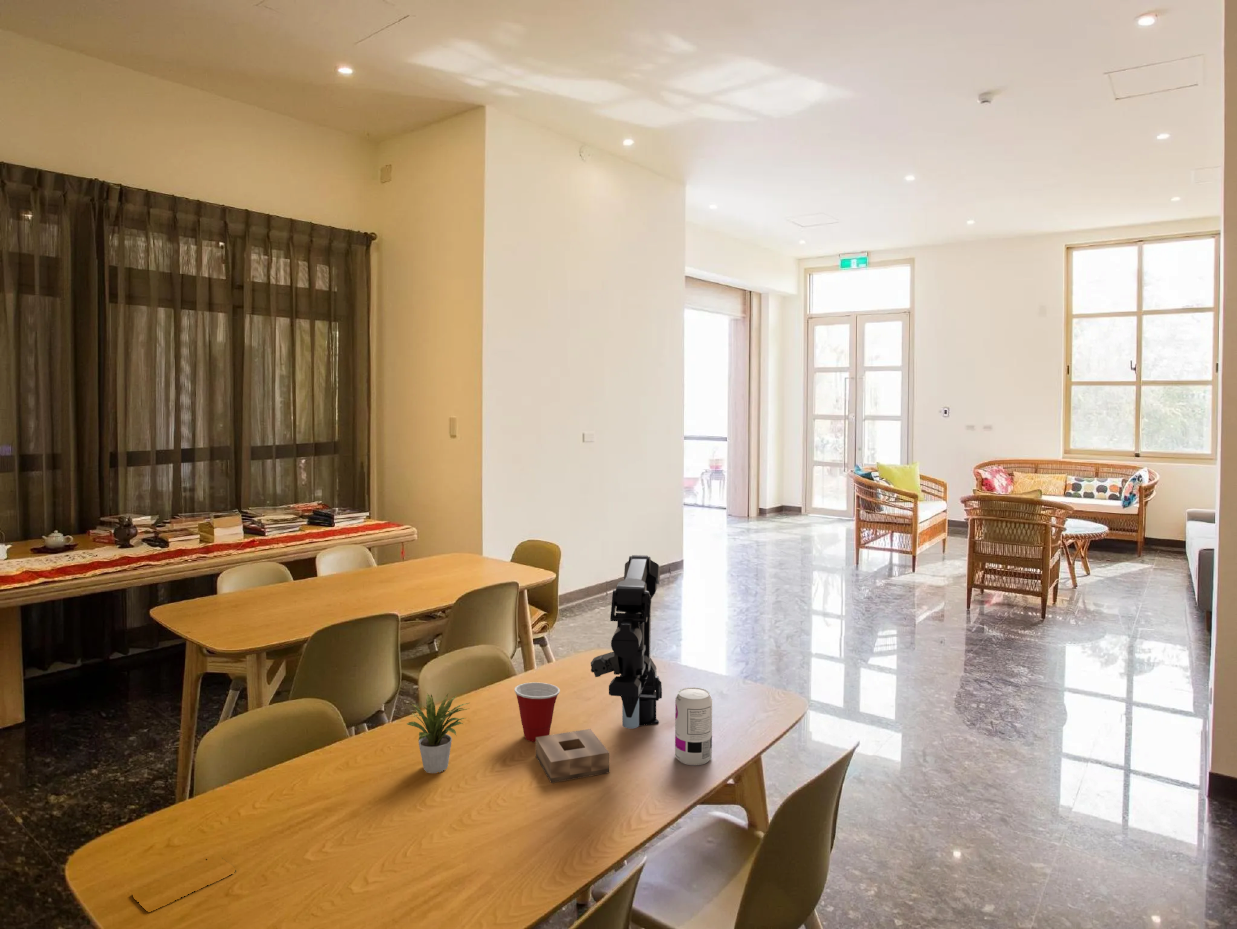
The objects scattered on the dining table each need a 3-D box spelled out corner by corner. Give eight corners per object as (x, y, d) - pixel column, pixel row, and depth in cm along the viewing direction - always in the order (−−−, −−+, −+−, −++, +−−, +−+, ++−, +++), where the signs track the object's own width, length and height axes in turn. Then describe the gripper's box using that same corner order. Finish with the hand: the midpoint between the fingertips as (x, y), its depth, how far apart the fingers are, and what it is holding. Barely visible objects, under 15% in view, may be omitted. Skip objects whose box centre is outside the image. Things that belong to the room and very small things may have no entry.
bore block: (590, 747, 180) (590, 728, 179) (609, 772, 167) (609, 752, 167) (535, 756, 175) (535, 737, 175) (551, 782, 163) (551, 762, 163)
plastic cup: (569, 738, 185) (568, 689, 184) (530, 750, 178) (529, 700, 177) (544, 723, 193) (543, 676, 192) (506, 735, 186) (505, 686, 185)
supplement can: (669, 761, 173) (669, 696, 171) (683, 747, 180) (684, 684, 179) (703, 769, 169) (704, 702, 168) (716, 754, 176) (717, 690, 175)
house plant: (452, 789, 160) (450, 712, 159) (390, 782, 163) (388, 707, 162) (478, 758, 174) (477, 687, 173) (420, 752, 177) (419, 683, 175)
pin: (640, 722, 170) (640, 686, 169) (637, 728, 166) (637, 692, 165) (623, 721, 170) (623, 685, 170) (621, 727, 167) (621, 691, 166)
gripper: (602, 628, 177) (602, 695, 179) (584, 654, 159) (584, 728, 160) (651, 631, 175) (650, 698, 177) (638, 657, 157) (638, 732, 158)
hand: (630, 713), depth 168 cm, fingers closed on pin, 4 cm apart
